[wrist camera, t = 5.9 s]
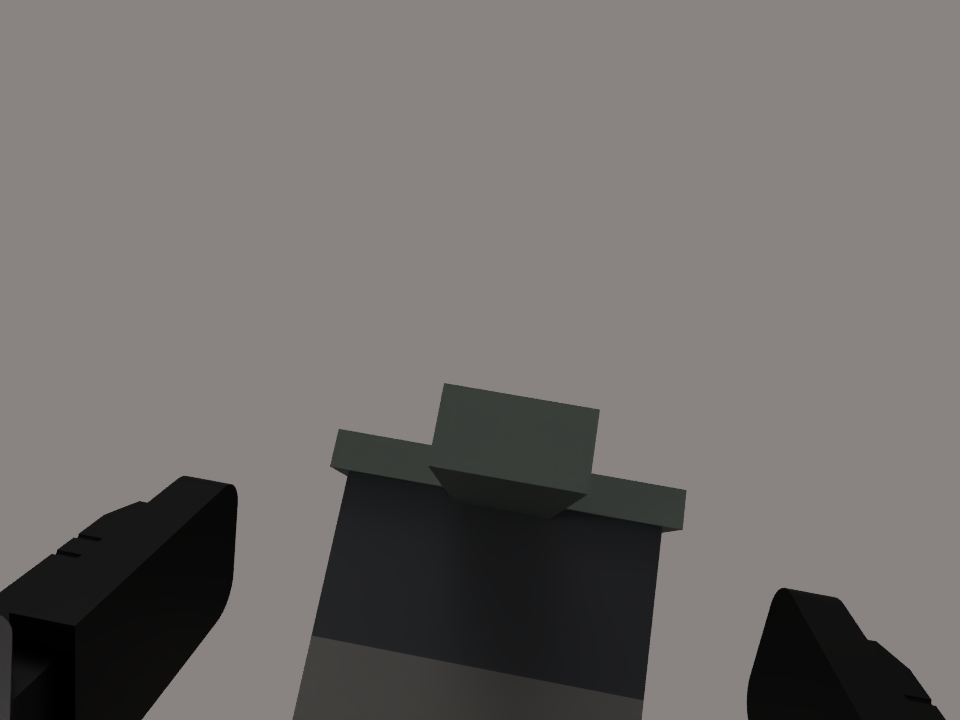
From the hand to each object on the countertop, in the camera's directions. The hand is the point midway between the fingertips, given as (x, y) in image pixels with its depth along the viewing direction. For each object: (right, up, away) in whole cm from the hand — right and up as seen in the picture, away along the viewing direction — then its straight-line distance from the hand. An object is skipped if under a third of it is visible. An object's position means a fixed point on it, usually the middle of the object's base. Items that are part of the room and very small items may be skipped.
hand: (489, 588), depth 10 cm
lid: (+1, -2, +12) cm, 12 cm away
